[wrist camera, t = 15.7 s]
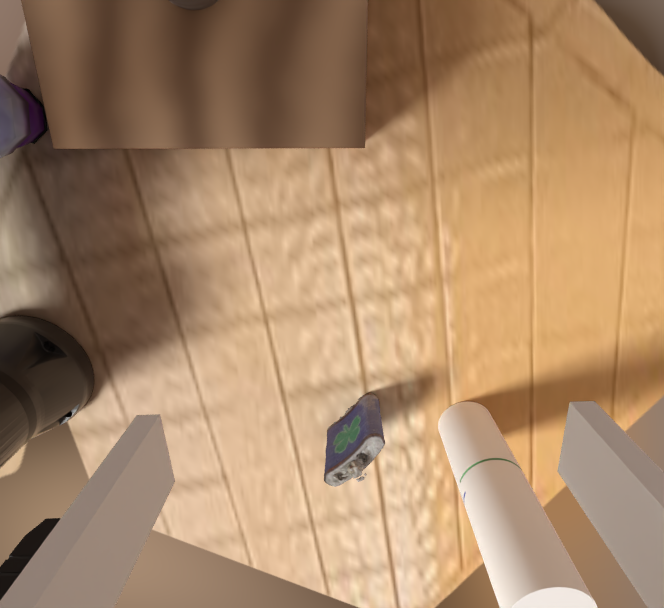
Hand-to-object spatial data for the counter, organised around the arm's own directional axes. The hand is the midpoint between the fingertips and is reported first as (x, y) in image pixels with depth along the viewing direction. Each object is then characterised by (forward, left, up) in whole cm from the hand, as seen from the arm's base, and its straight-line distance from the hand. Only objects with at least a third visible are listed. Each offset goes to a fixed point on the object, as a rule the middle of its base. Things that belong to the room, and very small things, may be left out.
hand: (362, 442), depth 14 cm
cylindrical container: (+16, -26, -37) cm, 48 cm away
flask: (+1, -25, -37) cm, 45 cm away
